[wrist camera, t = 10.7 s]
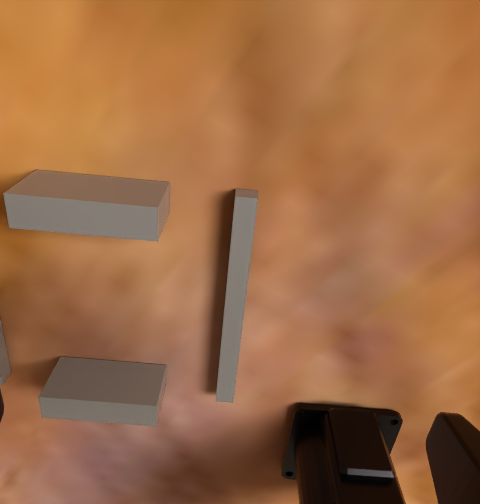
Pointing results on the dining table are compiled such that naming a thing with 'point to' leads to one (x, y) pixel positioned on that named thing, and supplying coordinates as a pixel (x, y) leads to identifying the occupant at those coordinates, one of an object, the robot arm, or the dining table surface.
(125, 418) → the blocks
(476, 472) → the robot arm
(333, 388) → the dining table surface
